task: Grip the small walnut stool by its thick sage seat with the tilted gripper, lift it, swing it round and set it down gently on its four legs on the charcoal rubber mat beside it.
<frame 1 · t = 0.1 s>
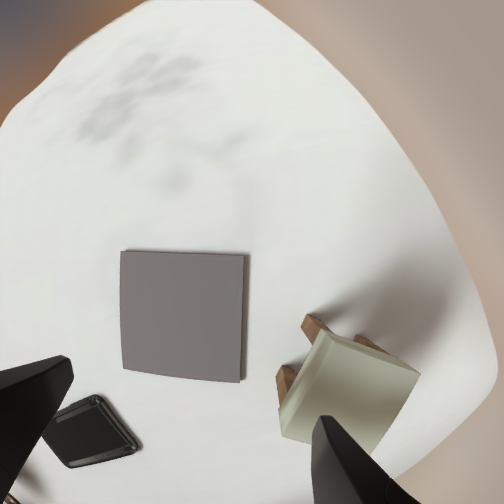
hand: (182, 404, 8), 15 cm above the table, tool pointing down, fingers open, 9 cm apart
stool: (322, 358, 23), on the table
mat: (178, 317, 24), on the table
phone: (82, 433, 24), on the table
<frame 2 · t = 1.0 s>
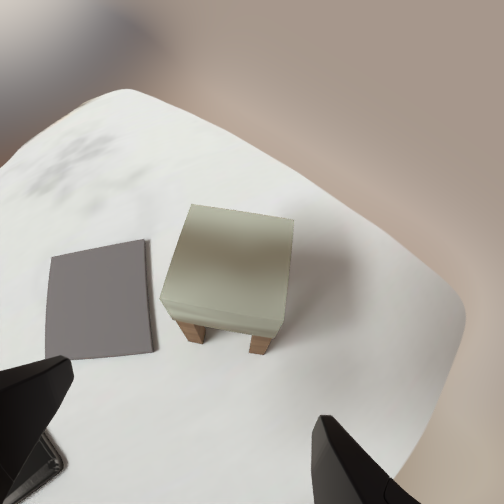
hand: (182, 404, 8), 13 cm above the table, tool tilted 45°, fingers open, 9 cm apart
stool: (232, 313, 24), on the table
mat: (93, 300, 23), on the table
phone: (11, 461, 13), on the table
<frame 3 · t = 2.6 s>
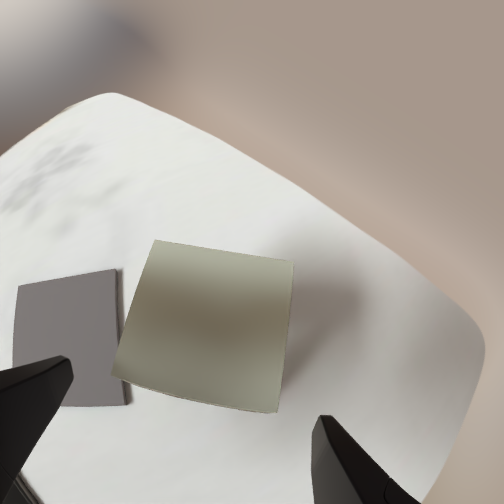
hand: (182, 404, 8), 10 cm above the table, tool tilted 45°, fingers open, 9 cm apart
stool: (218, 362, 19), on the table
mat: (61, 340, 18), on the table
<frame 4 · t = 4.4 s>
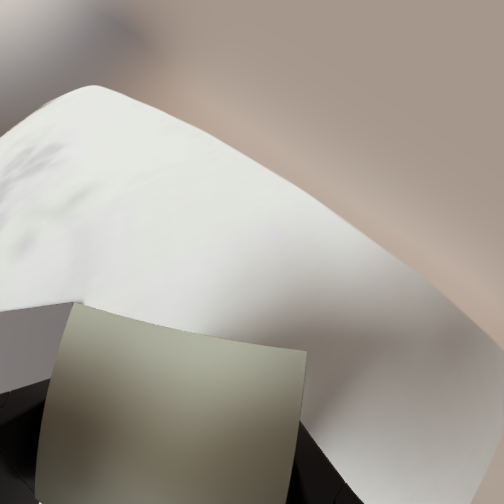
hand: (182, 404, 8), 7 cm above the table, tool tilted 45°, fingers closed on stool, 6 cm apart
stool: (199, 430, 13), on the table, touching gripper
mat: (18, 385, 12), on the table
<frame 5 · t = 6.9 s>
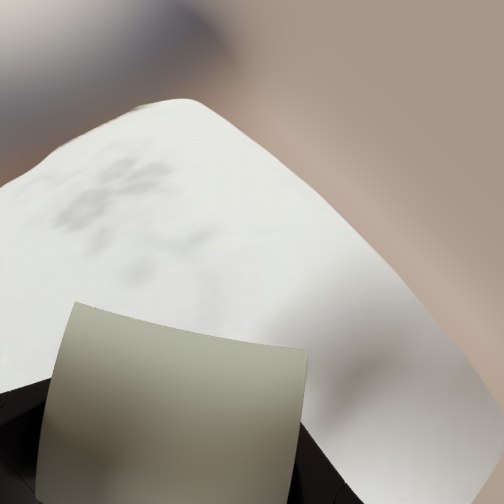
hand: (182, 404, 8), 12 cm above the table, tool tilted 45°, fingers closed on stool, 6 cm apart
stool: (199, 430, 13), point 6 cm above the table, touching gripper
when the fingers open (8 cm above the table, at t = 9.5 s): stool stays where it is, resting on mat.
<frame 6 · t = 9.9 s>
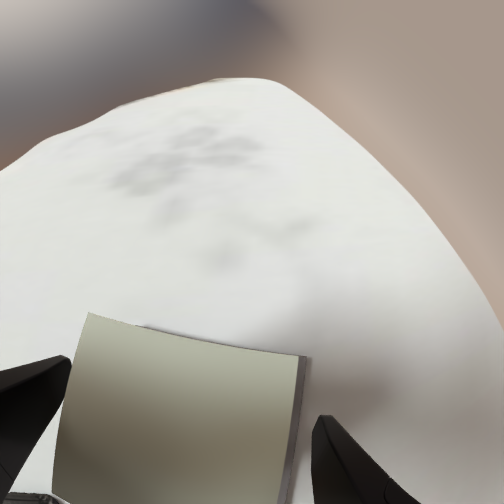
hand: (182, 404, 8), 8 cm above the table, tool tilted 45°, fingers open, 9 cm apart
stool: (201, 428, 14), resting on mat
mat: (202, 429, 14), on the table
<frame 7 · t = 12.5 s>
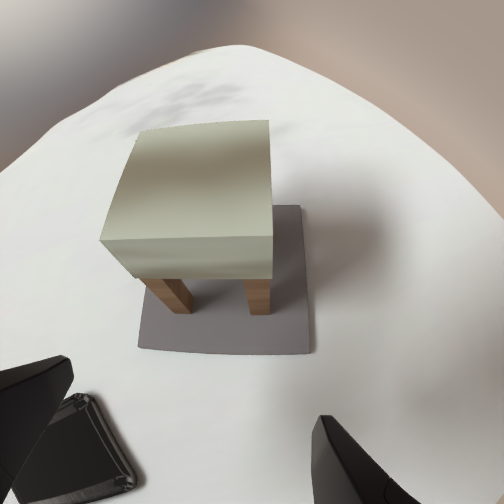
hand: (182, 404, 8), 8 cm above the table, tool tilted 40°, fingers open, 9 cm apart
stool: (223, 270, 19), resting on mat
mat: (224, 274, 20), on the table
phone: (55, 461, 13), on the table
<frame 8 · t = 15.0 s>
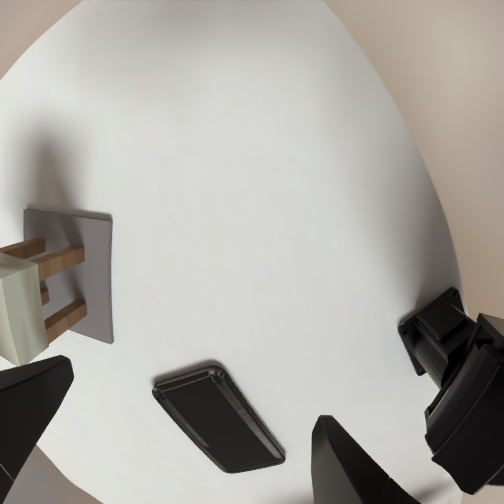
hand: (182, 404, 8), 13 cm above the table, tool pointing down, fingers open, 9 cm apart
stool: (60, 275, 21), resting on mat
mat: (63, 273, 22), on the table
phone: (223, 424, 25), on the table
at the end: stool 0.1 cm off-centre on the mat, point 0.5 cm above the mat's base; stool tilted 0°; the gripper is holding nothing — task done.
